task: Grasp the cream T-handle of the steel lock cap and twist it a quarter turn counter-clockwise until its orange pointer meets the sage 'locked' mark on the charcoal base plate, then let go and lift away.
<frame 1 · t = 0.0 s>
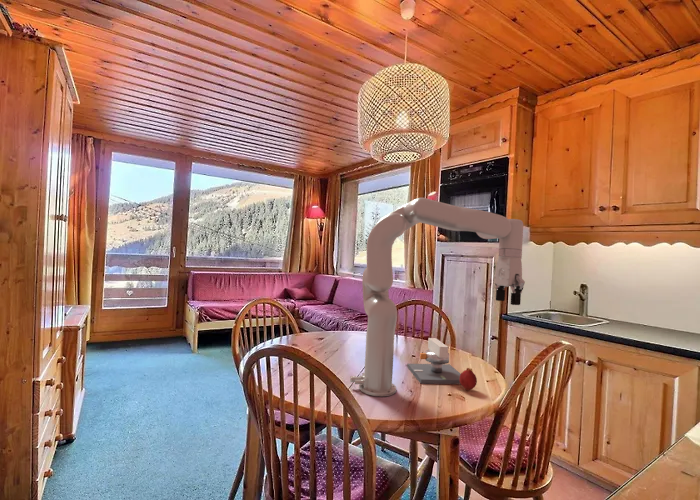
hand: (507, 302, 126), 31 cm above the table, tool pointing down, fingers open, 9 cm apart
onion: (467, 391, 125), on the table
lock cap: (434, 351, 139), point 9 cm above the table, hinge at 0.0°
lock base: (436, 375, 139), on the table
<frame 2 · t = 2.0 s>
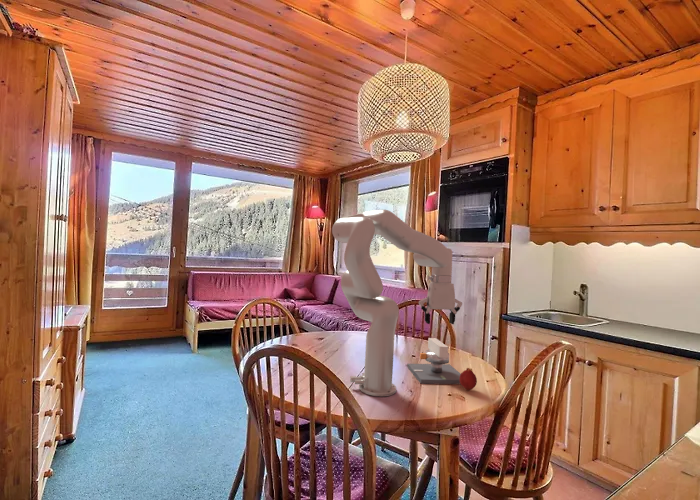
hand: (439, 323, 139), 20 cm above the table, tool pointing down, fingers open, 9 cm apart
nothing on the table moved.
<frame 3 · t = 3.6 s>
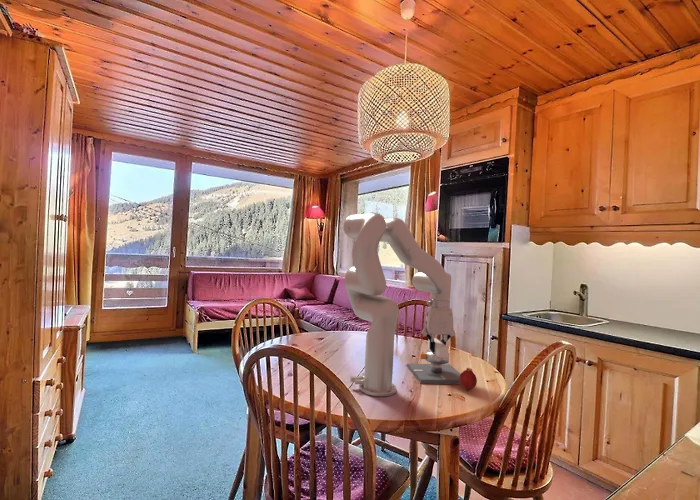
hand: (437, 350, 139), 9 cm above the table, tool pointing down, fingers closed on lock cap, 3 cm apart
lock cap: (434, 351, 139), point 9 cm above the table, hinge at 0.0°, touching gripper
everything else where it was.
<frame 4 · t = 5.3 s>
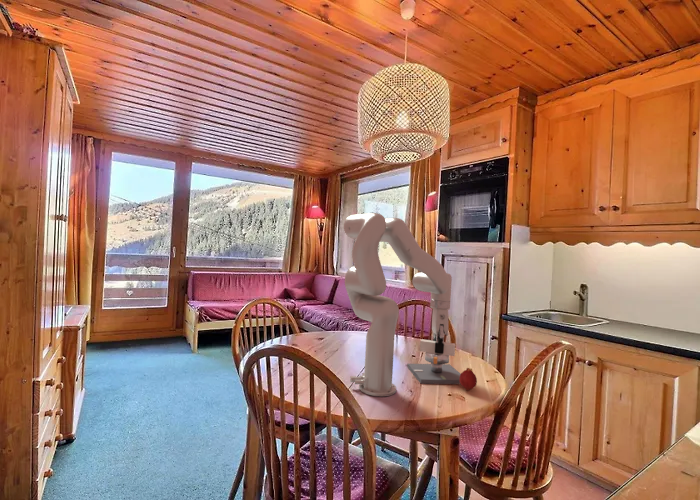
hand: (437, 351, 139), 9 cm above the table, tool pointing down, fingers closed on lock cap, 4 cm apart
lock cap: (437, 352, 138), point 9 cm above the table, hinge at 64.4°, touching gripper
everything else where it was.
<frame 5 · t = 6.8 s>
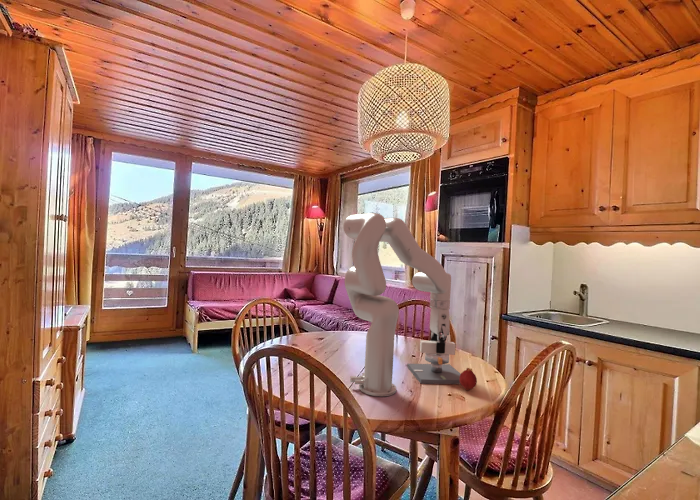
hand: (437, 350, 139), 10 cm above the table, tool pointing down, fingers open, 6 cm apart
lock cap: (437, 352, 138), point 9 cm above the table, hinge at 81.2°
everything else where it was.
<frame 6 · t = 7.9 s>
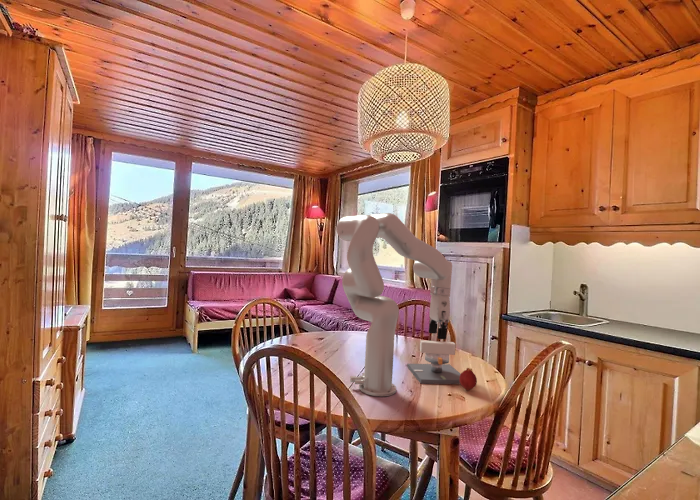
hand: (437, 335, 139), 15 cm above the table, tool pointing down, fingers open, 9 cm apart
nothing on the table moved.
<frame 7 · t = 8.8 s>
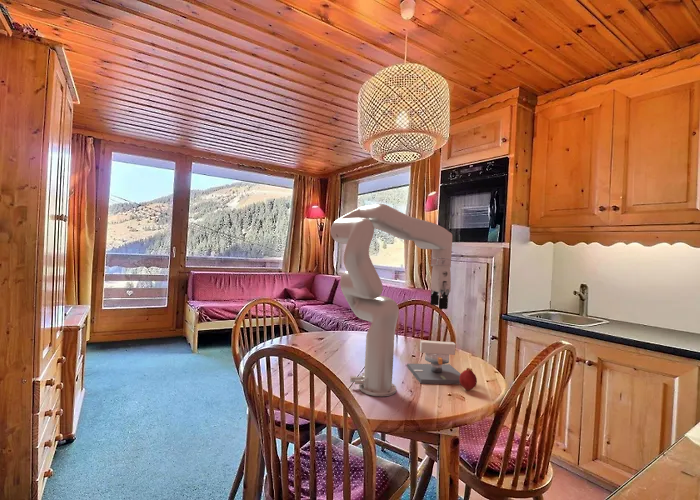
hand: (438, 306, 140), 27 cm above the table, tool pointing down, fingers open, 9 cm apart
nothing on the table moved.
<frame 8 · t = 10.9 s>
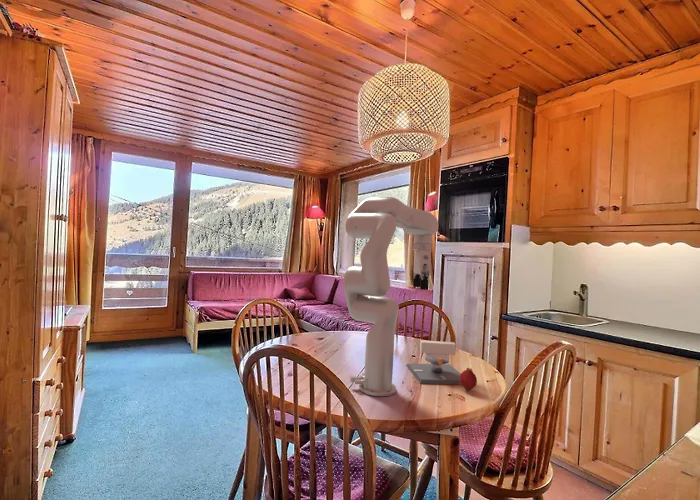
hand: (420, 288, 152), 32 cm above the table, tool pointing down, fingers open, 9 cm apart
nothing on the table moved.
at the end: lock cap at +81° (first picture: +0°); the gripper is holding nothing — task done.
